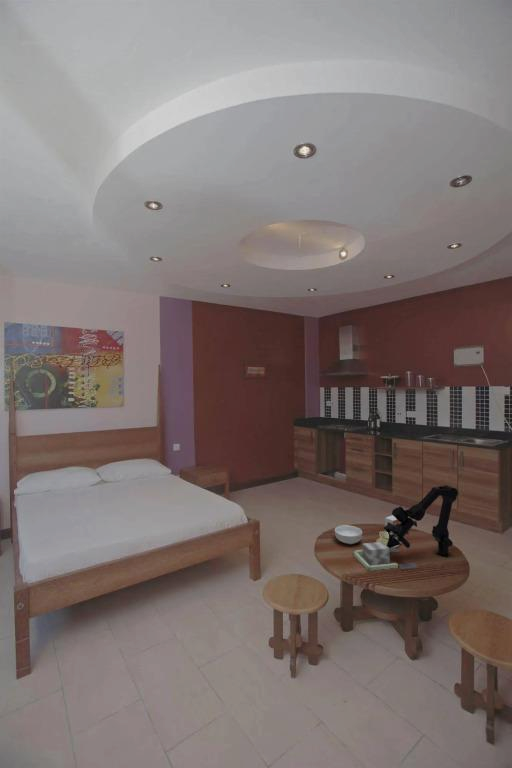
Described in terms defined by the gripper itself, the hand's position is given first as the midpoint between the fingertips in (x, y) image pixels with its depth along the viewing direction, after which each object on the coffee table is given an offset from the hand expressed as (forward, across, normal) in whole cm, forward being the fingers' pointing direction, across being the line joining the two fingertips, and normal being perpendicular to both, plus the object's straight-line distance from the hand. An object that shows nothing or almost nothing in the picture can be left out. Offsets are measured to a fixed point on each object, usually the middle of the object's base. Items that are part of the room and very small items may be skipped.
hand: (386, 548), depth 201 cm
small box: (-8, -25, +18) cm, 32 cm away
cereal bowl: (+13, -26, -3) cm, 29 cm away
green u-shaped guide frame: (+6, 0, +3) cm, 7 cm away
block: (+10, 0, 0) cm, 10 cm away
